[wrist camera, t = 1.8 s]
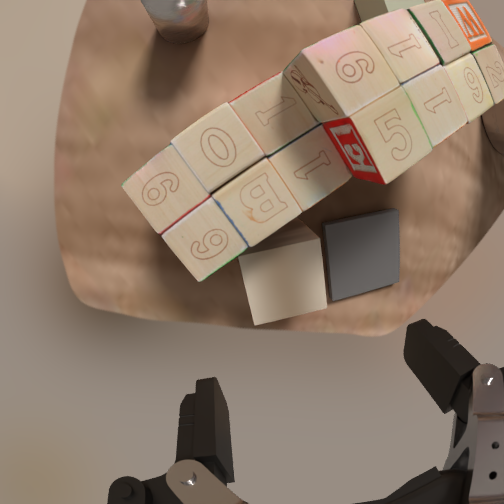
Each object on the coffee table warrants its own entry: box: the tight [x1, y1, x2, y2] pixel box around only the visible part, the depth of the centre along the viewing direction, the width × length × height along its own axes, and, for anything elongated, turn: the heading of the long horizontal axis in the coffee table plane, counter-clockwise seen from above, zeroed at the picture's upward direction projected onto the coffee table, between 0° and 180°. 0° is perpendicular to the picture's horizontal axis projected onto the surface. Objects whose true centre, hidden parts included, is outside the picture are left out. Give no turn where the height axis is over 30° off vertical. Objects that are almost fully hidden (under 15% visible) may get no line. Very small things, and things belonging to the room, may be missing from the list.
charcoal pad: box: [322, 208, 400, 301], centre depth 24 cm, size 7×7×1 cm
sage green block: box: [354, 0, 425, 22], centre depth 15 cm, size 4×4×4 cm
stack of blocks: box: [121, 0, 504, 282], centre depth 15 cm, size 21×6×12 cm, turn 124°
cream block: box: [238, 217, 327, 325], centre depth 21 cm, size 5×5×6 cm
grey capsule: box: [141, 0, 209, 44], centre depth 14 cm, size 4×4×6 cm
